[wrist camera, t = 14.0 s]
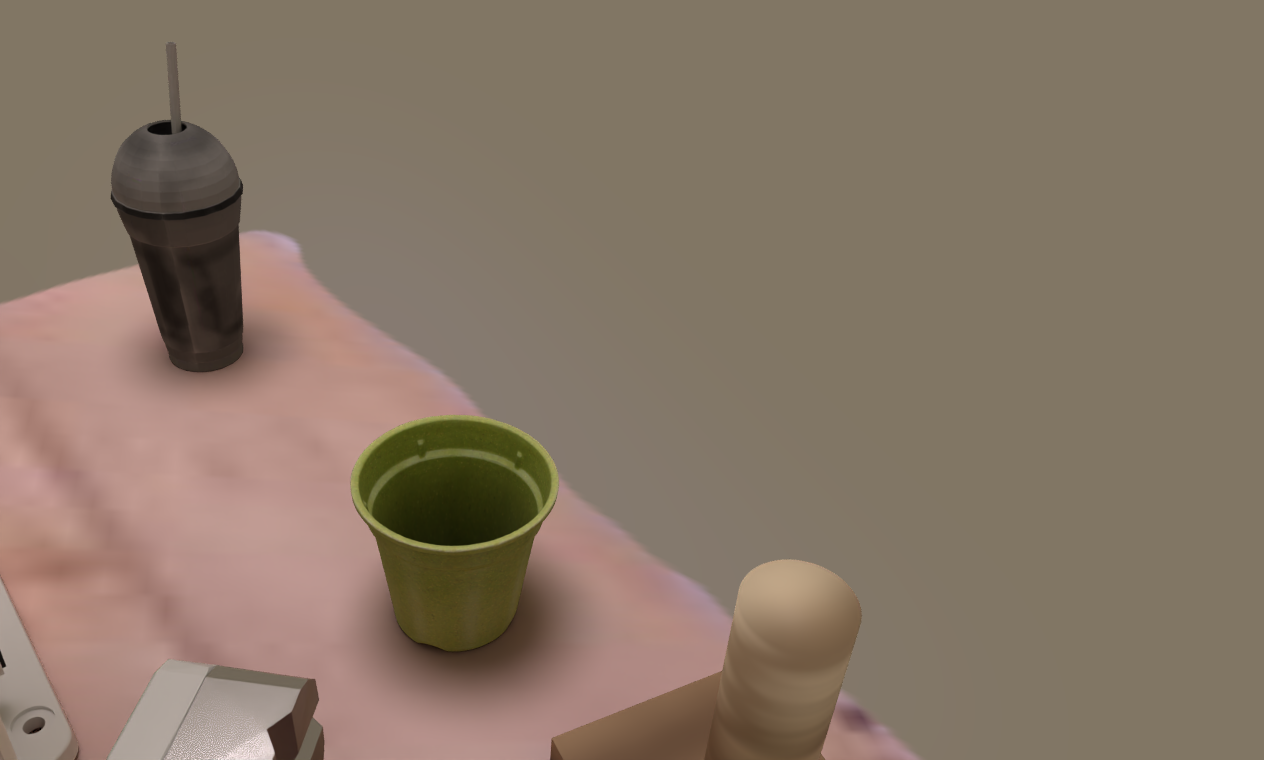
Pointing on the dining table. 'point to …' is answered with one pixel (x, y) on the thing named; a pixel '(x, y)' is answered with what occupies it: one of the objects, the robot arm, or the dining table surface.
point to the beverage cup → (185, 233)
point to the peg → (783, 663)
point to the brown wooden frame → (648, 728)
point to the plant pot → (454, 522)
